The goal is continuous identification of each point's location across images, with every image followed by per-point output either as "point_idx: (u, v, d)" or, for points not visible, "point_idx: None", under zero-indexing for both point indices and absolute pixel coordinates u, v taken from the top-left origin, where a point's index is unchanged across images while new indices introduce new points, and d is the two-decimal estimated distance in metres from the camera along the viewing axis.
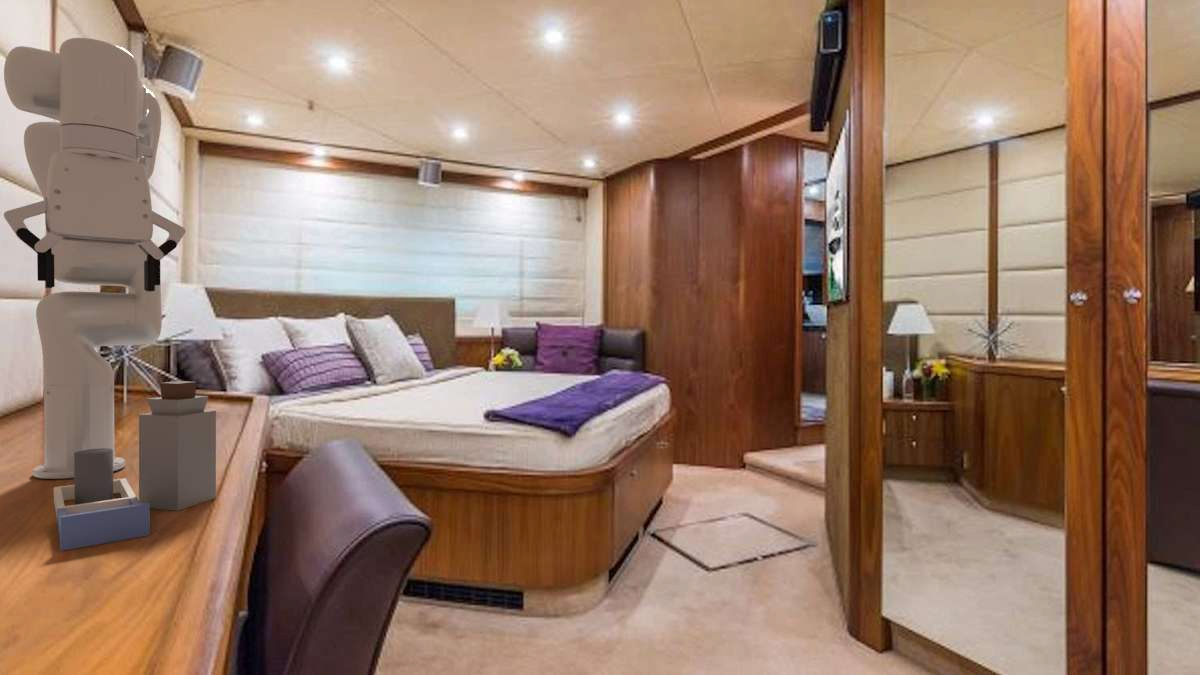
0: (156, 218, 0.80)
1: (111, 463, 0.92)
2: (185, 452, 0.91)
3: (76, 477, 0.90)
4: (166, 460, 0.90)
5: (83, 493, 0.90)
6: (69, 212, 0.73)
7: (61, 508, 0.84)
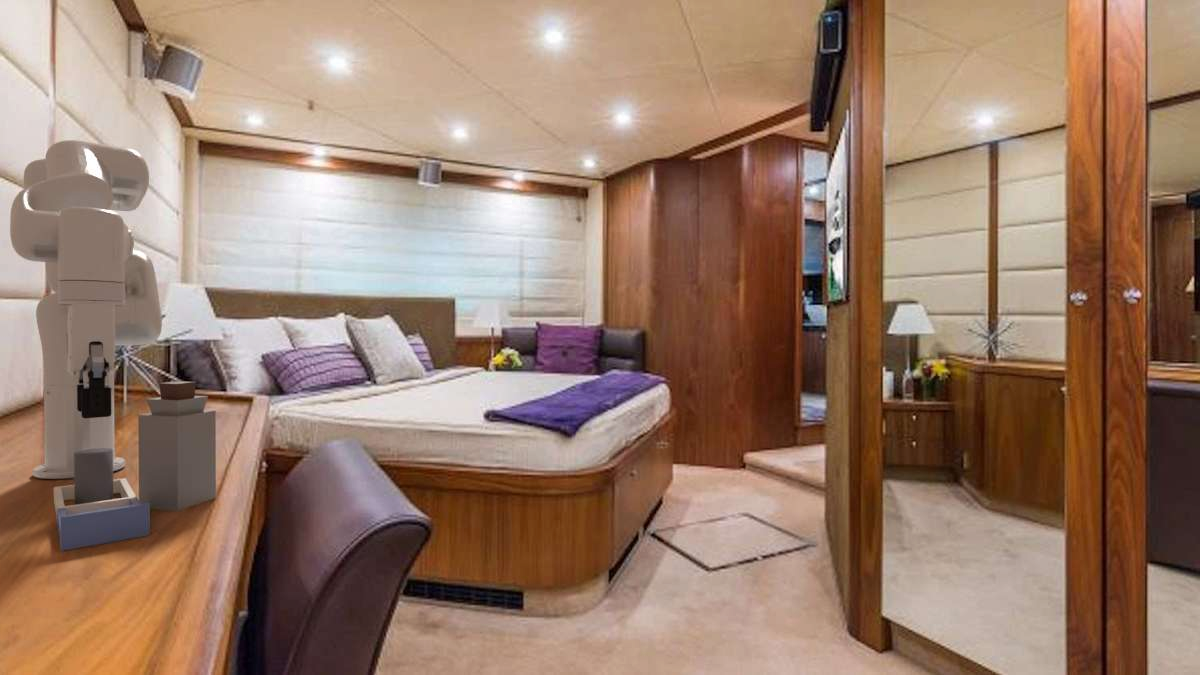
0: None
1: (111, 463, 0.92)
2: (185, 452, 0.91)
3: (76, 477, 0.90)
4: (166, 460, 0.90)
5: (83, 493, 0.90)
6: None
7: (61, 508, 0.84)
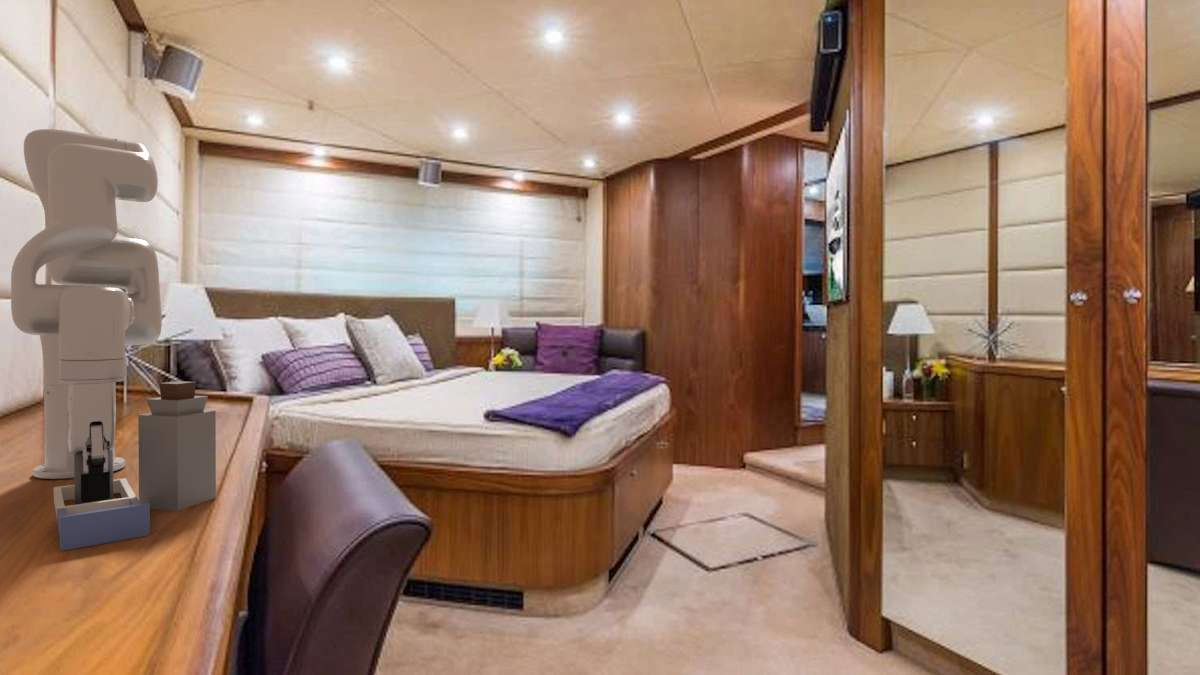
0: None
1: (111, 463, 0.92)
2: (185, 452, 0.91)
3: (76, 477, 0.90)
4: (166, 460, 0.90)
5: None
6: None
7: (61, 508, 0.84)
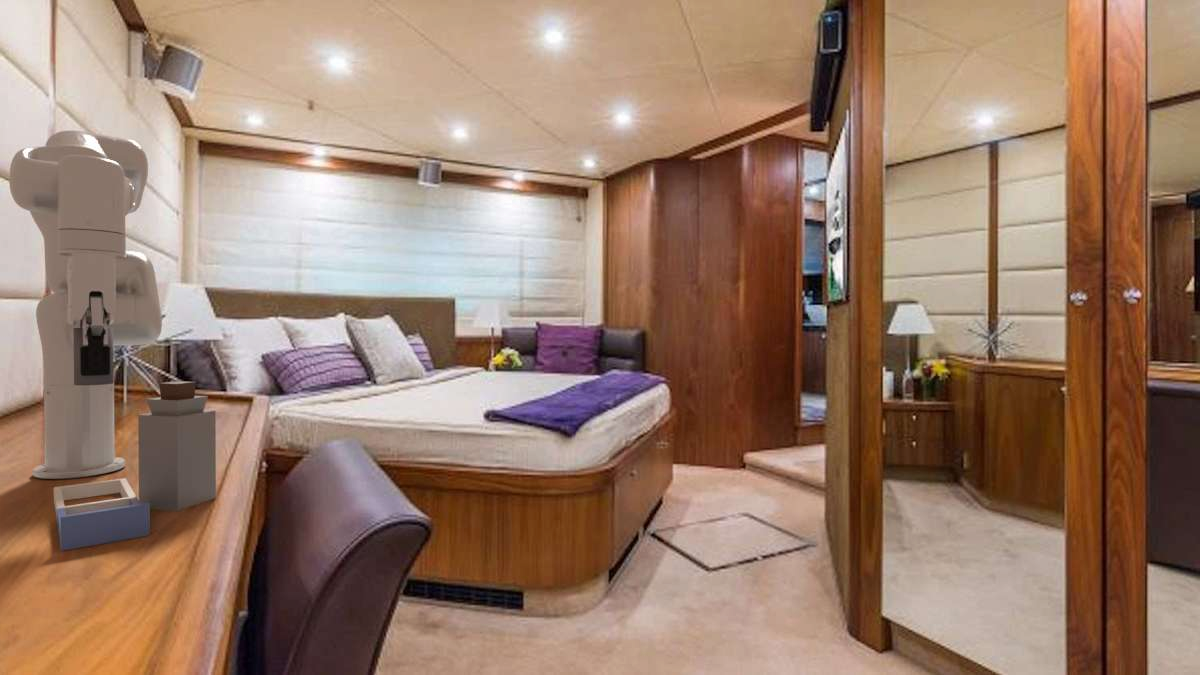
0: None
1: (111, 341, 0.91)
2: (185, 452, 0.91)
3: (75, 351, 0.88)
4: (166, 460, 0.90)
5: None
6: None
7: (61, 508, 0.84)
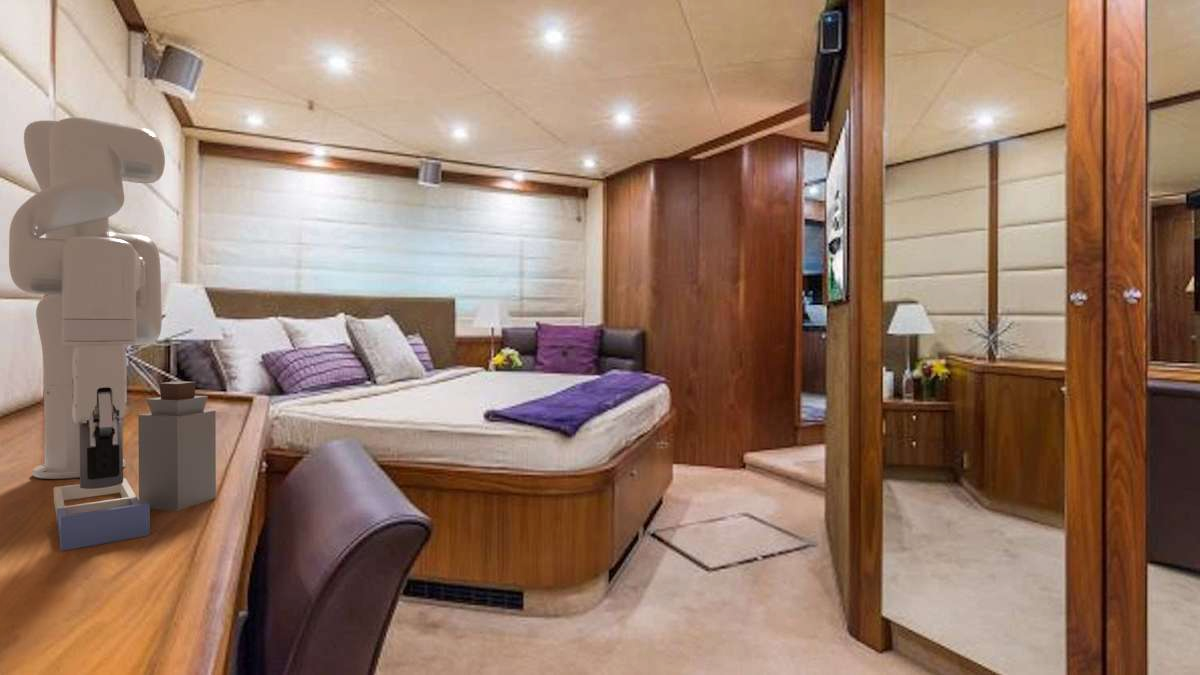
0: None
1: (121, 436, 0.82)
2: (185, 452, 0.91)
3: (82, 451, 0.80)
4: (166, 460, 0.90)
5: None
6: None
7: (61, 508, 0.84)
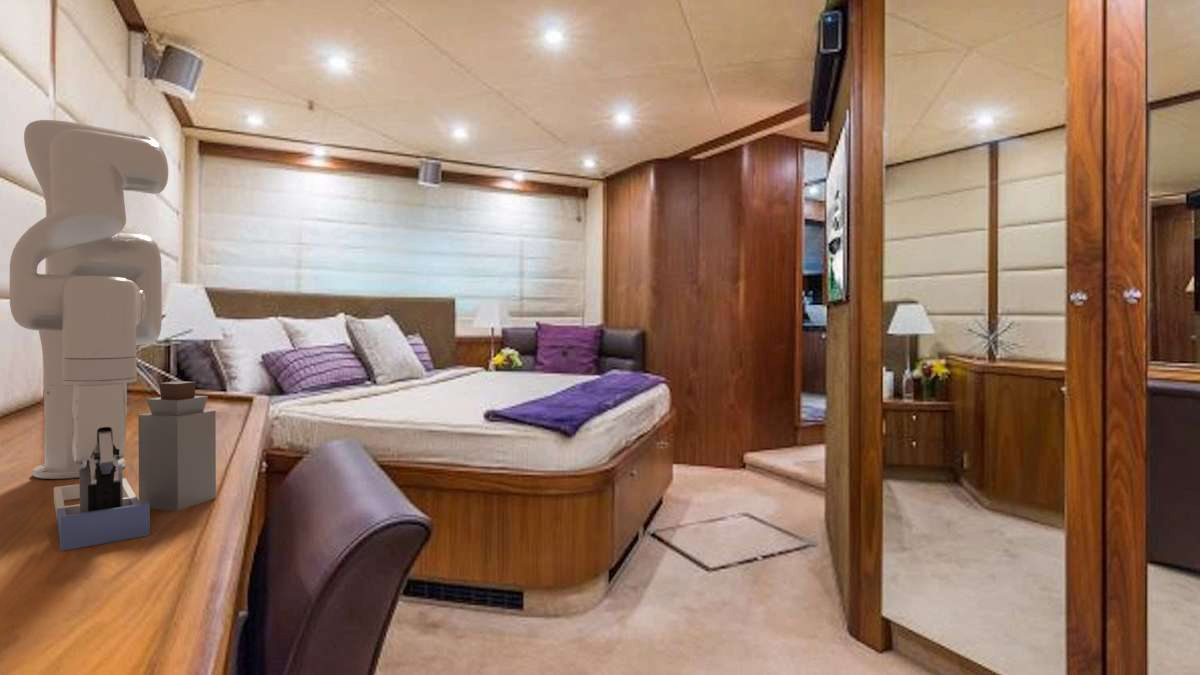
0: None
1: (120, 480, 0.83)
2: (185, 452, 0.91)
3: (82, 497, 0.80)
4: (166, 460, 0.90)
5: None
6: None
7: (61, 508, 0.84)
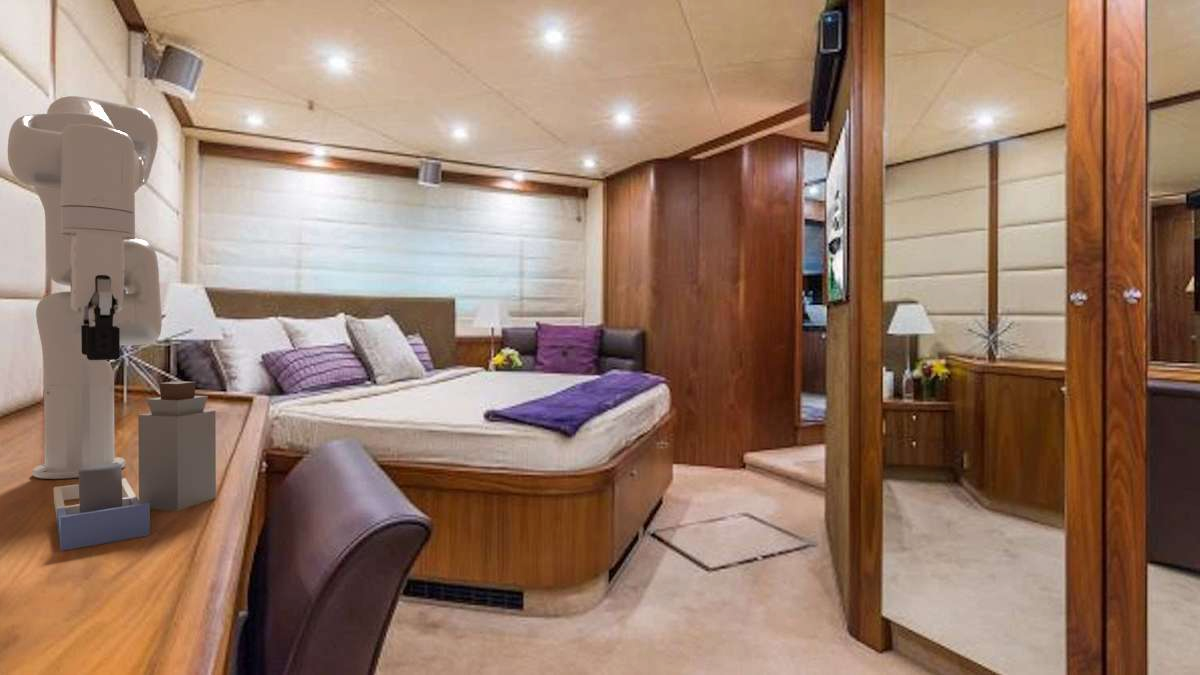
0: None
1: (120, 480, 0.83)
2: (185, 452, 0.91)
3: (81, 497, 0.80)
4: (166, 460, 0.90)
5: None
6: None
7: (61, 508, 0.84)
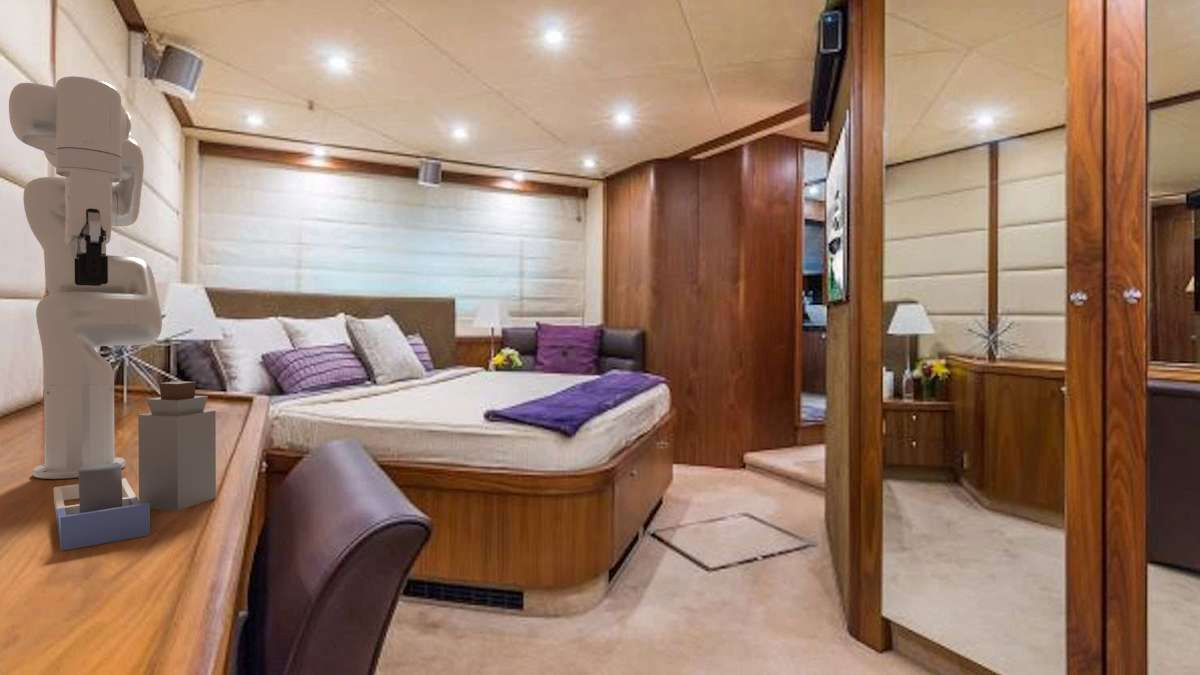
0: None
1: (120, 480, 0.83)
2: (185, 452, 0.91)
3: (82, 497, 0.80)
4: (166, 460, 0.90)
5: None
6: (111, 224, 0.92)
7: (61, 508, 0.84)
